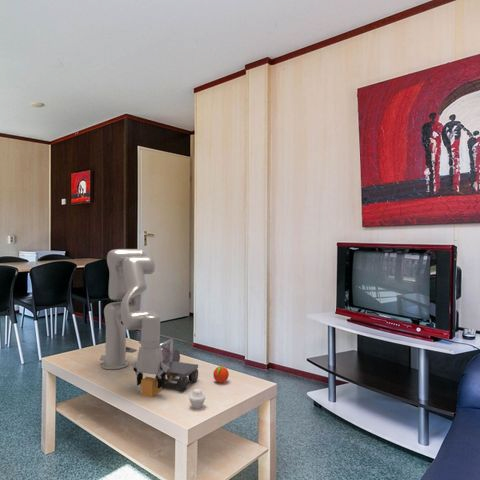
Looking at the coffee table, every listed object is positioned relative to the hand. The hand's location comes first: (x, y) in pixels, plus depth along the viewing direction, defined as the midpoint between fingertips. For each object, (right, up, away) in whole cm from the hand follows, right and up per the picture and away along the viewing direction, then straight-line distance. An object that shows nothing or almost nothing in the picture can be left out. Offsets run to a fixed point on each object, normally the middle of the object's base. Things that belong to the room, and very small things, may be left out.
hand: (149, 385), depth 159 cm
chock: (+1, -4, +1) cm, 4 cm away
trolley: (+9, -3, +10) cm, 14 cm away
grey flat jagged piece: (-31, -3, +62) cm, 69 cm away
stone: (+1, -3, +37) cm, 37 cm away
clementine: (+28, -4, +13) cm, 32 cm away
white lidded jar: (+21, -4, -12) cm, 24 cm away
